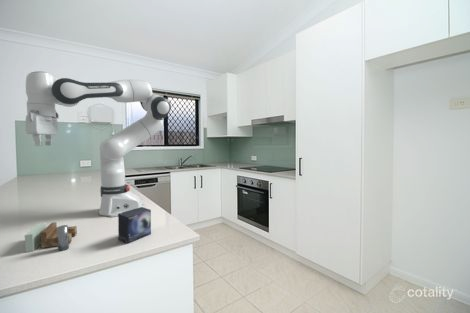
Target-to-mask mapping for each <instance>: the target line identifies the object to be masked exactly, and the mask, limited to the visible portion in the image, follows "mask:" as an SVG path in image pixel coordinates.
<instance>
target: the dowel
mask: <svg viewBox="0 0 470 313" xmlns="http://www.w3.org/2000/svg"><path fill="white" fill-rule="evenodd" d="M68 227H69V225H67V224H66V225H65V224H64V225H59V226H57V240H58V246H57V251H58V252H63V251H67V250H69V248H70V244H69V240H68Z"/></svg>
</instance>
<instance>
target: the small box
mask: <svg viewBox="0 0 470 313" xmlns="http://www.w3.org/2000/svg"><path fill="white" fill-rule="evenodd" d="M151 215H152V209H150V208H149V209H148V208H146V207H145V208H143V207H140V208H136V209H133V210H129V211H126V212H122V213H118V216H117V217H118V218H117V222H118V223H117V224H118V227H117V228H118V229H117V230H118V232H117V233H118V238H117V240H119V241H121V242H123V243H124V244H130V243H133V242H134V241H137V240H140V239H142V238H145V237H148V236H150V235H152V216H151Z"/></svg>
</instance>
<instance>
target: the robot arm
mask: <svg viewBox="0 0 470 313" xmlns="http://www.w3.org/2000/svg"><path fill="white" fill-rule="evenodd" d="M25 94H26V98H27V100H26V111H27V112H26V116H25V132H26V134H27V135H32V139H33V141H34V146H35V147H42V146H43V142H42V138H41V137H42V135H43V136H45V142H44V145H45V146H52V144H53V143H52V141H53V136H57V134H58V123H59V122H58V119H59V116H60V115H59V114H58V112H57V110H56V105H59V106H63V107H68V108H70V107H75V106H77V105H79V103H80V102H81V101H83V100H86V99H100V98H107V99H108V98H109V99H112V100H114V102H117V103H125V104H126V103H135V102H136V103H137V102H139V103H140V105H141V107H142V109H143V110H144V111H145V112H146V114H145V115H144V116H143V117H141V118H139V119H138V120H136V121H135V122H132V123H131V124H130V125H128V126H127V127H125V128H123V129H122V130H120V131H119V132H117V133H115V134H113V135H112V136H110V137H109V138H106V139H104V140H103V141H102V142H101V143H100V145H99V155H100V156H99V158H100V160H99V161H100V180H101V182H100V184H101V186H100V190H99V192H100V206H99V210H98V211H99V212H98V214H99V215H100V216H105V217H106V216H107V217H109V218H115V217H118V213H122V212H126V211H129V210H133V209H136V208H140V207H143V208H146V205H145V203H142V199H141V198H140V197H139V196H138V195H137V194H135V193H134V192H132V191H130V189H131V187H130V184H126V174H125V173H126V169H125V161H124V158H125V157H124V156H126V155H127V154H128V153H130V152H131V151H132V150H134V149H135V148H137V147H138V146H139V145H141V144H142V143H144V142H145V141H147V140H148V139H149V138H151V137H153V136H154V135H155V134H157V133H158V132H160V130H161V129H162V128H163V126H164V121H163V120H165V119H166V118H167V116H168V115H169V113H170V111H171V110H172V105H171V103H170V101H169V99H167V98H166V97H163V96H161V95H159V94H155V93H154V92H153V89H152V85H151V84H150V83H149V82H148V81H145V80H141V79H119V80H113V81H108V82H83V81H78V80H75V79H71V78H67V77H61V78H56V76H54V75H52V74H51V73H50V72H46V71H31V72H29V73H28V74H27V75H26V78H25Z"/></svg>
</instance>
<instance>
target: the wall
mask: <svg viewBox="0 0 470 313" xmlns="http://www.w3.org/2000/svg"><path fill="white" fill-rule="evenodd" d="M45 228H47V222H46V221H45V222H44V221H43V222H39V223H38V224H37V225H35V226H34V227H33V228H31V229H30V230H29V231H28V232H27V233H26V234H24V245H25V253H30V252H29V251H31V252H34V251H35V250H36V249H37V248H38V247H40V245H42V243H41V232H42V231H43V230H44V229H45Z"/></svg>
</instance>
